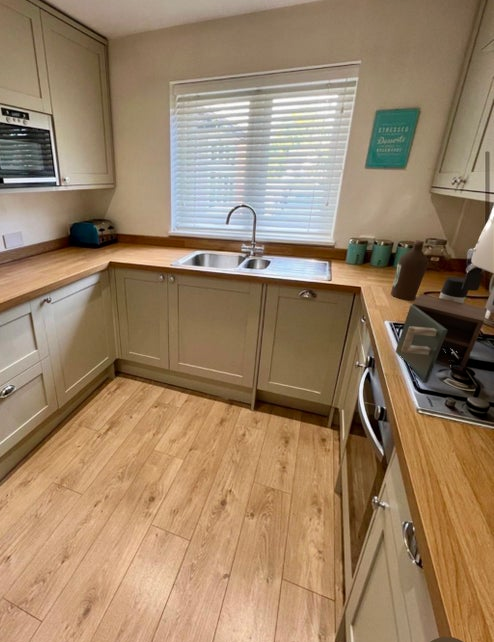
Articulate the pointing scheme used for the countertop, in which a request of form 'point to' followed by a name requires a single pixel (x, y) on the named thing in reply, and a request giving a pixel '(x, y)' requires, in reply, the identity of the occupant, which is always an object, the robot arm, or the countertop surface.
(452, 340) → the cupboard
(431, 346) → the door
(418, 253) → the olive oil
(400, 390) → the countertop surface
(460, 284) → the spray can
